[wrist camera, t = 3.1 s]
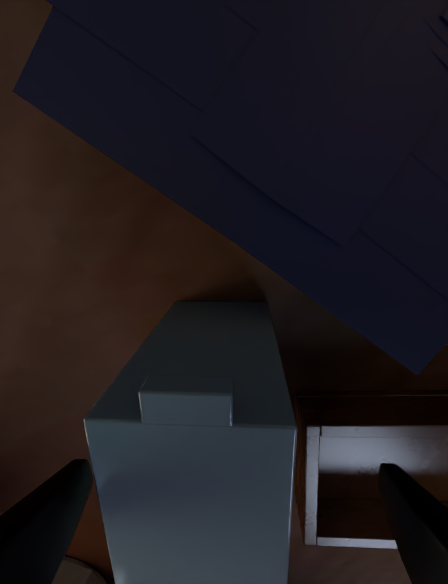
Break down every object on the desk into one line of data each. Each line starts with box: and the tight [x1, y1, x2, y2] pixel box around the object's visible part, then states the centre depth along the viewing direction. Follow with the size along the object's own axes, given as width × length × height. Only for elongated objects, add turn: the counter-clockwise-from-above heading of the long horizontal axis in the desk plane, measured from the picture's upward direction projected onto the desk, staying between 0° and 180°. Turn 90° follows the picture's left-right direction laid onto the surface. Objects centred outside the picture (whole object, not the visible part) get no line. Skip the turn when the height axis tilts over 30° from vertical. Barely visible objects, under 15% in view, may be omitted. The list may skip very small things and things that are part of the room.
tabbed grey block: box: [83, 302, 297, 584], centre depth 13 cm, size 6×11×10 cm, turn 1°
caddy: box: [296, 390, 448, 549], centre depth 17 cm, size 15×9×3 cm, turn 94°
